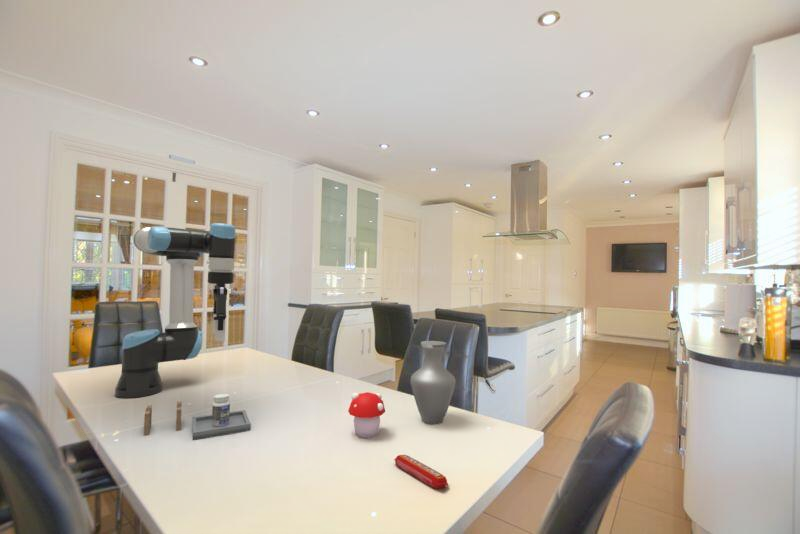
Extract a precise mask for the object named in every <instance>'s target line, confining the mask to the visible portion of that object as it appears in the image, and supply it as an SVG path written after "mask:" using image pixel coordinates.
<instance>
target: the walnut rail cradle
mask: <svg viewBox="0 0 800 534" xmlns="http://www.w3.org/2000/svg"><path fill="white" fill-rule="evenodd" d="M182 403H183V401H177V402H176V414H175V415H176V418H175V431H181V430H182V429H181V428H182ZM152 409H153V404H148V405H146V408H145V411H144V421H143V423H144V424H143V436H149V435H150V431H151V427H152V416H153V415H152V412H153V410H152Z"/></svg>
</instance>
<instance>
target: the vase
mask: <svg viewBox="0 0 800 534" xmlns="http://www.w3.org/2000/svg"><path fill="white" fill-rule="evenodd" d="M420 345H421V347H422V351H423V354H424V360H423V364H422V365H421V367H420V368H419V369H418V370H416V371H415V372H414V373H413V374H412V375H411V376H410V385H411V386H410V387H411V391H412V394H413V397H414V401H415V405H416V407H417V411H418V413H419V415H420V418H421V421H422V422H423V423H425V424H426V425H439V424H442V423H443V421H444V419H445V417H446V414H447V412H448V410H449V406H450V405H451V404H450V403H451V401H452V399H453V398H452V397H453V394H454V391H455V387H456V382H457V381H456V377H455V376H454V375H453V374H452V373H451V372H450V371H449V370H447V368H446V367H445V366H444V363H443V353H444V351H445V347H446V345H447V342H445V341H441V340H440V341H439V340H424V341H421V342H420Z"/></svg>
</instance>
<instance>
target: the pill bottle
mask: <svg viewBox="0 0 800 534" xmlns="http://www.w3.org/2000/svg"><path fill="white" fill-rule="evenodd" d="M229 399H230V395H229V394H228V393H219V394H215V395H214V396H213V401H214V402H213V403H212V410H211V413H212V414H211V415H212V425H213V426H224V425H227V424H228V423H229V413H230V412H231V411H230V409H231V406H230V405H231V402H230V401H229Z"/></svg>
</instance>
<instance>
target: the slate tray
mask: <svg viewBox="0 0 800 534" xmlns="http://www.w3.org/2000/svg"><path fill="white" fill-rule="evenodd" d="M191 420H192V421H191V422H192V423H191V425H192V426H191V430H192V431H191V432H192V441H195V440H202V439H207V438H208V439H209V438H212V437H213V438H215V437H221V436H225V435H226V436H227V435H232V434H237V433H243V432H244V433H245V432H249V431H250V430H251V428H252V427H251V426H252V424H251V423H252V422H251V421H250V419H249V416H248V414H247V412H246V410H245V409H242V410H237V411H236V410H235V411H230V413H229V423H228V424H227V425H224V426H213V425H212V414H208V415H200V416H193V417H192V419H191Z"/></svg>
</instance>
